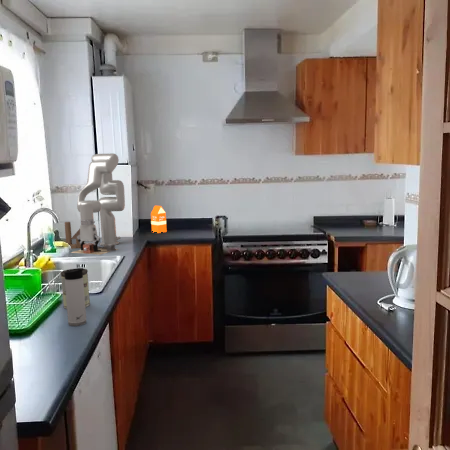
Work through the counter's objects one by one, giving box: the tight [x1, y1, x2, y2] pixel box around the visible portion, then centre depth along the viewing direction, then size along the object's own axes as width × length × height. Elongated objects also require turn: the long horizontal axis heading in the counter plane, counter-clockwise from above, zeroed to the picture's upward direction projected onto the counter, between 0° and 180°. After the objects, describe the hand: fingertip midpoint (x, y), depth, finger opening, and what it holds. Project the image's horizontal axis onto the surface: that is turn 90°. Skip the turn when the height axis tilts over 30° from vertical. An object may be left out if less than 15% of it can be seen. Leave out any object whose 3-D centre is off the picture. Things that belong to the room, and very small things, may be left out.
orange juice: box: [150, 205, 168, 234], centre depth 393 cm, size 8×9×20 cm
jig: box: [70, 242, 119, 256], centre depth 319 cm, size 18×23×5 cm
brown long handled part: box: [64, 221, 81, 250], centre depth 330 cm, size 4×11×18 cm, turn 87°
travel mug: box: [64, 267, 87, 327], centre depth 184 cm, size 6×7×20 cm
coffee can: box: [59, 268, 91, 310], centre depth 206 cm, size 10×10×14 cm
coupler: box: [83, 242, 96, 254], centre depth 314 cm, size 5×8×5 cm, turn 153°
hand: (89, 250), depth 315 cm, fingers open, 9 cm apart
